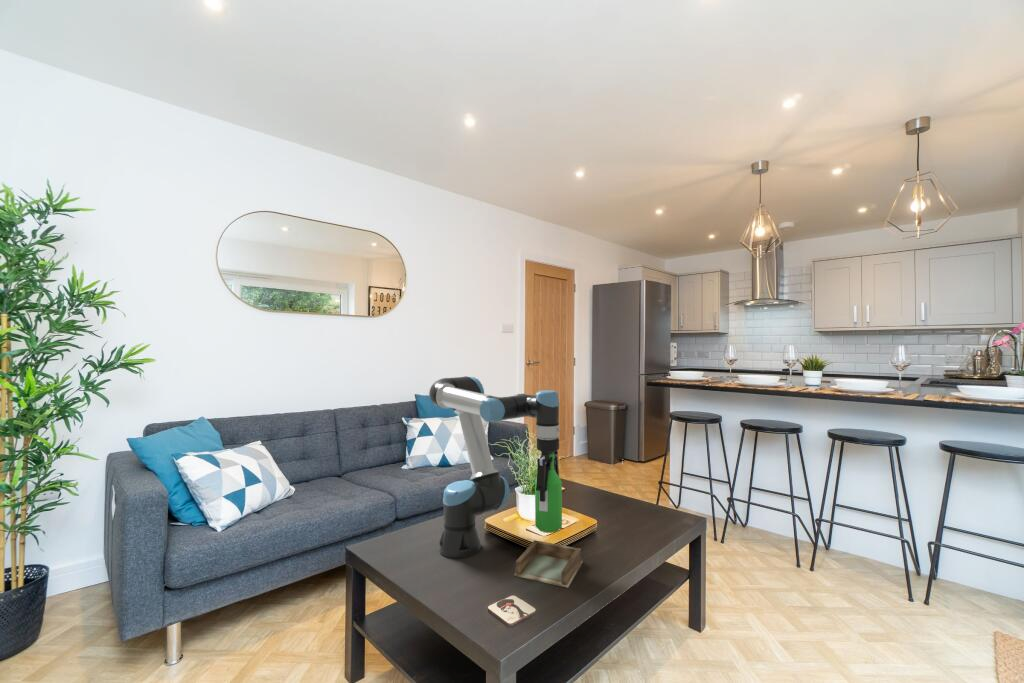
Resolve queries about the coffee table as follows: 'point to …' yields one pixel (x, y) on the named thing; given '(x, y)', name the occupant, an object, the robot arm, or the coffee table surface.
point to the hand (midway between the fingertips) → (548, 505)
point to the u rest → (549, 563)
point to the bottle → (550, 503)
